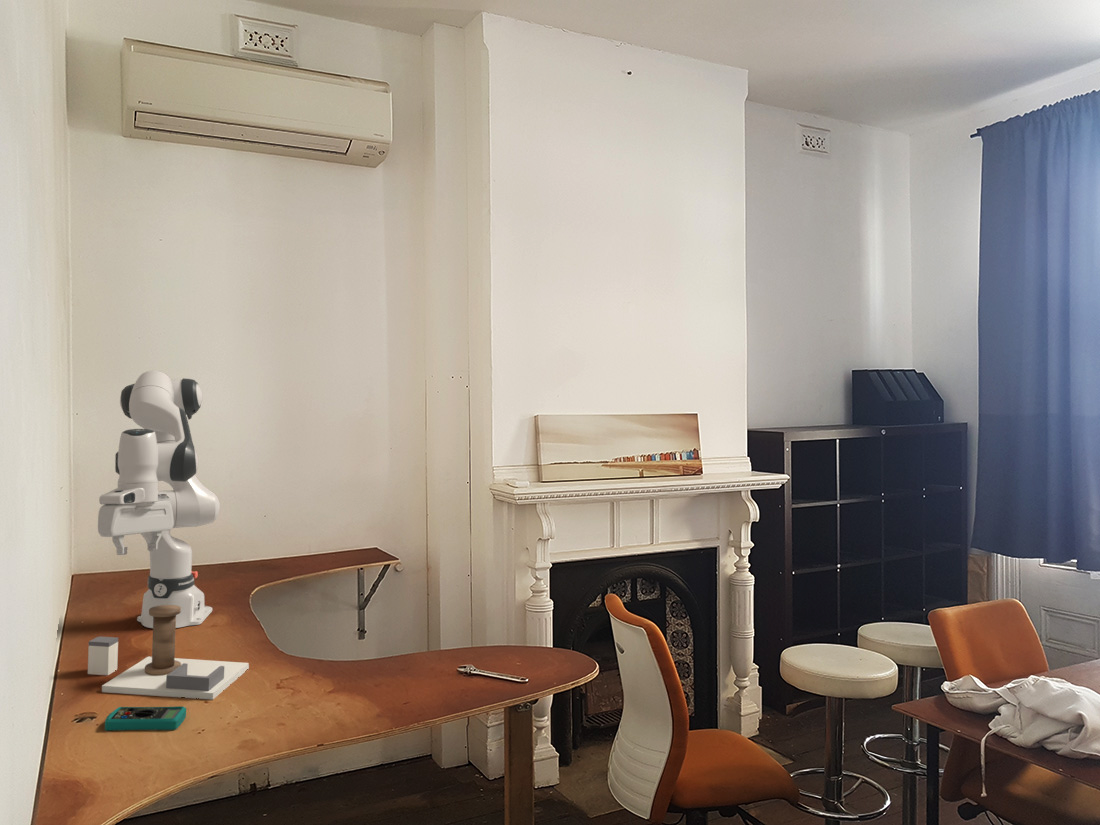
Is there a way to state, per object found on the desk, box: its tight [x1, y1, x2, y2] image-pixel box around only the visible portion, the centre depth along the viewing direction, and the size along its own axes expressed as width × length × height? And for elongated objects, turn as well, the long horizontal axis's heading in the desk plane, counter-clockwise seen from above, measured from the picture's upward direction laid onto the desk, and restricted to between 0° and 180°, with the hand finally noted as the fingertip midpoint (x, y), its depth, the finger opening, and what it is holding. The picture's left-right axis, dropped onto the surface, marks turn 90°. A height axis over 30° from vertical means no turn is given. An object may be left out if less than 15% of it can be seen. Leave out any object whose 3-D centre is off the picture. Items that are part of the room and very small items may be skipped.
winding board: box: [101, 656, 250, 701], centre depth 197 cm, size 20×26×4 cm
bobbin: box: [145, 605, 181, 676], centre depth 199 cm, size 8×8×15 cm
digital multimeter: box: [104, 705, 187, 732], centre depth 173 cm, size 7×15×3 cm, turn 98°
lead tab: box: [87, 636, 119, 676], centre depth 199 cm, size 4×5×8 cm
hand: (137, 552), depth 197 cm, fingers open, 8 cm apart
